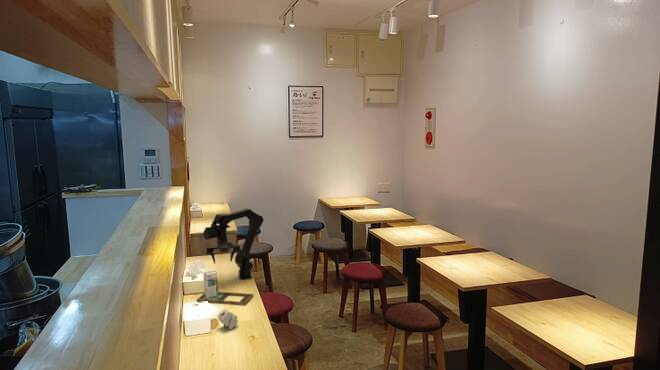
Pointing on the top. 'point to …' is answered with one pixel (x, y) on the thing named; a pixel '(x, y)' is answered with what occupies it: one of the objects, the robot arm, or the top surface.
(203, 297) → the brown rectangular tray
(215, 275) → the syrup box
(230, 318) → the grey lumpy piece
